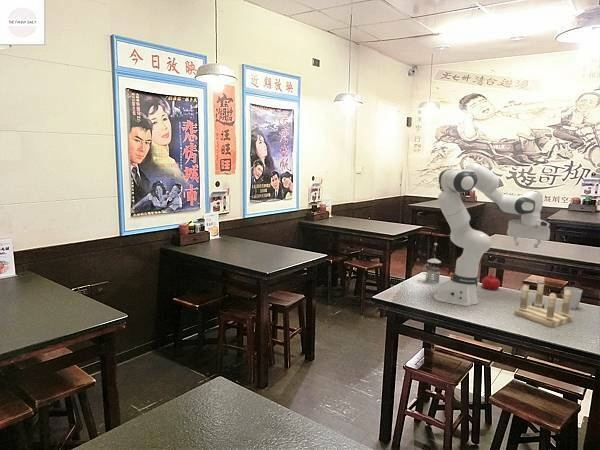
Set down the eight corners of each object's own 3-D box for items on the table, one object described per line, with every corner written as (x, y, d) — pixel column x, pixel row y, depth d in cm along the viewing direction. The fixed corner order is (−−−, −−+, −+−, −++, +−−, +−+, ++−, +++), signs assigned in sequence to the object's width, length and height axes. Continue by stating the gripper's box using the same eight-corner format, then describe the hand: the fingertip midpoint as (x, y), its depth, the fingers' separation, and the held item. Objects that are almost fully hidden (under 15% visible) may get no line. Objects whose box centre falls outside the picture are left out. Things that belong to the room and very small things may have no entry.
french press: (444, 285, 252) (447, 244, 248) (427, 286, 249) (430, 244, 245) (434, 280, 262) (438, 241, 258) (418, 281, 259) (421, 241, 255)
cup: (582, 310, 217) (585, 292, 215) (565, 309, 218) (567, 290, 216) (575, 305, 224) (578, 287, 223) (559, 304, 226) (561, 286, 224)
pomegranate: (491, 292, 243) (492, 276, 242) (477, 286, 252) (479, 272, 250) (503, 290, 247) (505, 275, 246) (489, 285, 256) (491, 270, 254)
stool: (551, 327, 192) (555, 295, 190) (513, 314, 208) (517, 284, 205) (572, 321, 201) (576, 290, 199) (534, 308, 217) (538, 279, 214)
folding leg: (541, 304, 210) (544, 282, 208) (534, 303, 212) (537, 281, 210) (542, 303, 213) (545, 281, 211) (535, 301, 214) (538, 279, 213)
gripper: (510, 219, 224) (506, 244, 226) (552, 224, 219) (548, 250, 221) (507, 218, 230) (503, 243, 232) (549, 222, 225) (545, 248, 227)
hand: (526, 246), depth 226 cm, fingers open, 8 cm apart
